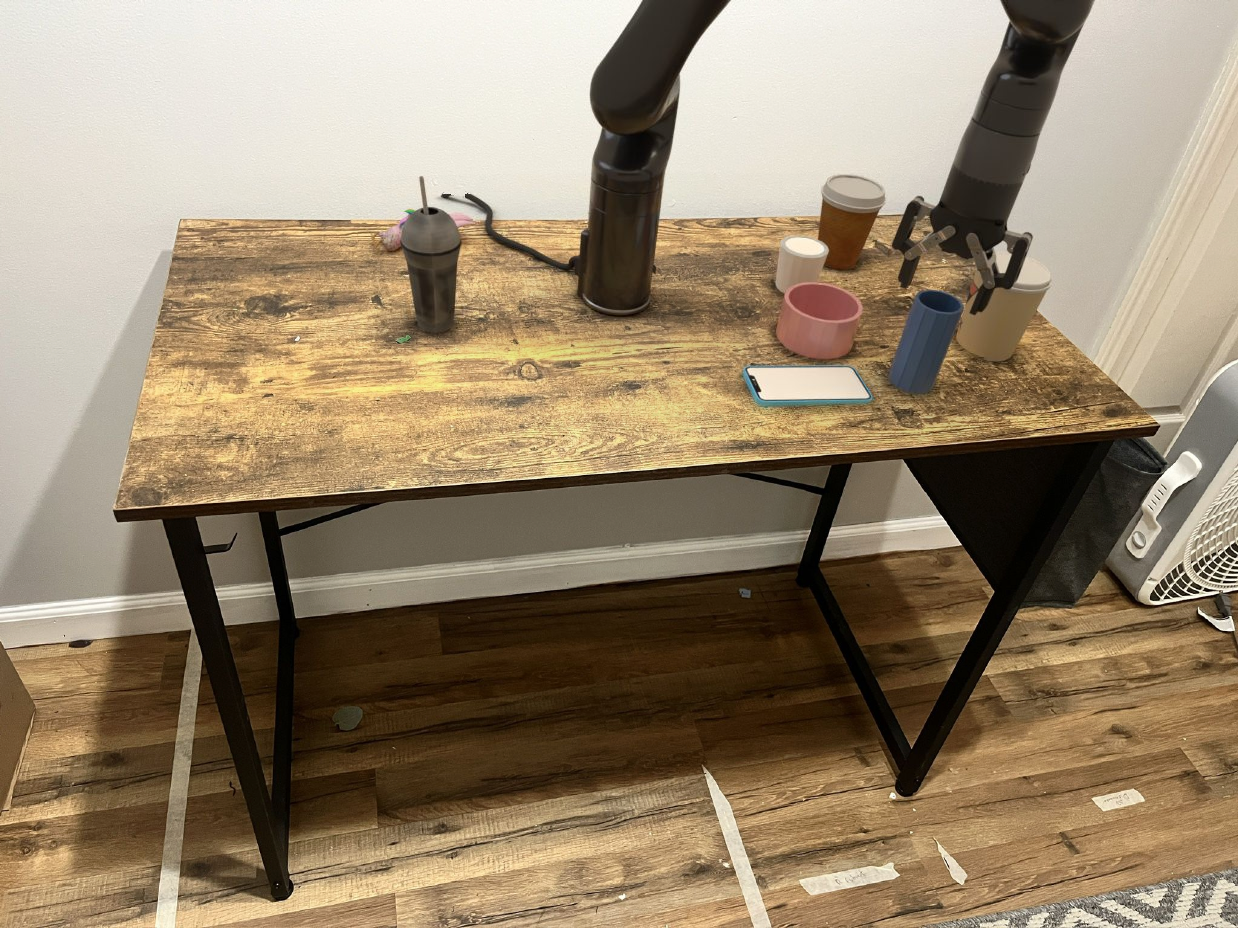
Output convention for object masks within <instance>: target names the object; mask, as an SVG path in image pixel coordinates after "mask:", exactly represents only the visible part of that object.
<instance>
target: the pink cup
mask: <svg viewBox="0 0 1238 928" xmlns="http://www.w3.org/2000/svg"><path fill="white" fill-rule="evenodd" d="M863 312H864V306H863V303H862V302H861V299H859V298H858V297H857V296H856V295H855V294H853V293H852V292H850V291H848V290H847V289H845V288H842V287H839V286H837V285H834V284H830V283H825V282H819V281H818V282H804V283H798V284H796V285H793V286H791V287H789V288H788V289H787V290H786V291H785V293H784V295H783V298H782V304H781V308H780V311H779V317H778V320H777V325H776V329H775V335H776V338H777V340H778V342H779V343H780V344H781V345H782V346H783V347H785V348H786V349H788V350H789V351H790V352H793V353H795V354H797V355H800V356H802V357H806V358H810V359H816V360H833V359H834V360H835V359H838V358H842V357H844V356H846V355H847V354H848V353H850V351H851V350H852V349H853V345H854V343H855V339H856V335H857V332H858V330H859V325H860V322H861V319H862V316H863Z"/></svg>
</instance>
